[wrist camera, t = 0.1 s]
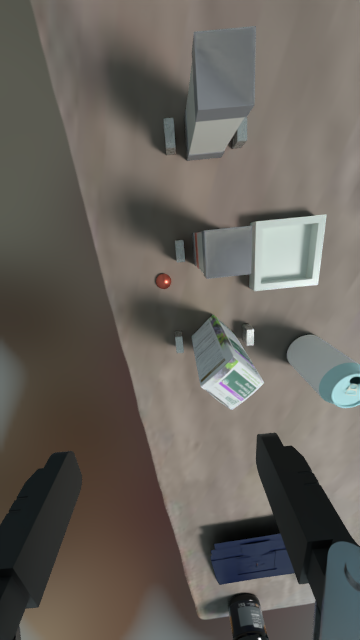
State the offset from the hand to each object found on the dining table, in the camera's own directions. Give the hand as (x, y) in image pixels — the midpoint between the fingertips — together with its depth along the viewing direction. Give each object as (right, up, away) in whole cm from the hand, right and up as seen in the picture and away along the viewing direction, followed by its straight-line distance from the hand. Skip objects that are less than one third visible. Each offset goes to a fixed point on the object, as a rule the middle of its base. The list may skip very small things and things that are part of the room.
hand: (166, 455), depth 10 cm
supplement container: (+21, -87, +64) cm, 110 cm away
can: (+24, 0, +32) cm, 40 cm away
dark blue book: (+22, -60, +55) cm, 84 cm away
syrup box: (+6, +3, +30) cm, 31 cm away
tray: (+17, +17, +26) cm, 35 cm away
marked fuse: (+5, +17, +25) cm, 31 cm away
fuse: (+4, +30, +20) cm, 37 cm away
